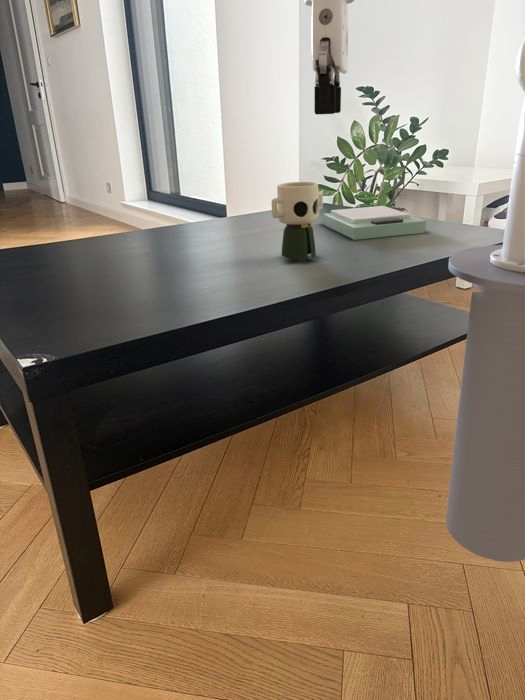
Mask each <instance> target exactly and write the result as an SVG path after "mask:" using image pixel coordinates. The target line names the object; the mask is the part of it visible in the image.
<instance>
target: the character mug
mask: <svg viewBox="0 0 525 700" xmlns="http://www.w3.org/2000/svg"><path fill="white" fill-rule="evenodd" d="M276 191H277V192H276V194H277V195H276V197H274V198H273V199H272V200H271V215H272V218H273V219H278V222H279V223H281V224H285V226H284V228H283V232H282V233H283V234H282V244H281V254H280V255H281V256H282V257H283V258H286V259H288V260H291V261H302V260H303V261H304V260H308V255H310V256H311V259H314V258H315V257H317V253H316V251H317V250H316V241H315V234H314V228H313V226H312V223H315V222H316V221H318V219H319V215H320V211H322V210H323V205H324V197H323V196H324V195H323V193H322V192H321V191H319V184H318V183H317V182H313V181H292V182H283V183H279V184H277V185H276Z"/></svg>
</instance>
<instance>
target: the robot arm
mask: <svg viewBox="0 0 525 700" xmlns="http://www.w3.org/2000/svg"><path fill="white" fill-rule="evenodd" d="M353 2H355V0H304V5H306V6H308V7H311V62H312V70H313V71H314V73H315V80H314V83H315V86H314V114H315V115H333V114H340V113H341V112H342V111H341V110H342V87H341V74H343V75H345V74H347V73H348V72H349V15H348V13H349V12H348V5H349V4H352V3H353ZM515 73H516V74H515V75H516V79H517V81H518V84H519V86H520V88H521V89H522V91H523V92H524V93H525V37H524V38H523V40H522V42H521V44H520V47H519V49H518V52H517V55H516V62H515ZM513 158H514V159H513V166H512V173H511V180H510V181H511V182H510V188H509V196H508V203H507V210H506V219H505V227H504V233H503V240H502V245H503V247H502V249H499V250H496V251H494V252H492V253H491V255H490V262H491V263H492V264H493V265H495V266H497V267H499V268H502V269H505V270H510V271H515V272H521V273H525V97H524V98H523V104H522V109H521V113H520V119H519V126H518V132H517V138H516V146H515V153H514V157H513Z"/></svg>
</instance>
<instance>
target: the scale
mask: <svg viewBox="0 0 525 700" xmlns="http://www.w3.org/2000/svg"><path fill="white" fill-rule="evenodd" d="M322 224H323V226H325V227H327V228H329V229H330V230H333V231H335V232H337V233H339V234H341V235H344V236H345V237H348V238H350V239H352V240H354V241H357V240H367V239H376V238H387V237H398V236H408V235H415V234H416V235H417V234H426V229H427V220H426V219H422V218H419V217H416V216H413V215H411V214H410V213H407V212H404V211H401V210H398V209H394V208H392V207H388V206H386V205H374V206H365V207H353V208H342V209H341V208H340V209H331V210H330V212H327V213H323V214H322Z"/></svg>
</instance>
